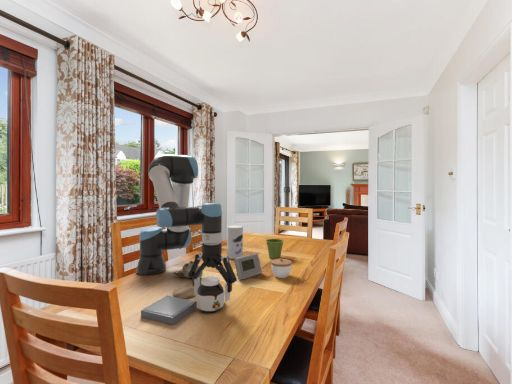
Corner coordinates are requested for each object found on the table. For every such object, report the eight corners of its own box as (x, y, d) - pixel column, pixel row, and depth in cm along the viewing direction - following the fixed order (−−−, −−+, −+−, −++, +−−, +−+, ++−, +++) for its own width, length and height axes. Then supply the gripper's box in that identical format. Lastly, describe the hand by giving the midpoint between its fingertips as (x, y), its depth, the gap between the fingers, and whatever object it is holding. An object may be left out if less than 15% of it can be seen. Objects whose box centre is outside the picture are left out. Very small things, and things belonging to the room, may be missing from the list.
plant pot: (287, 257, 179) (287, 239, 178) (278, 261, 169) (278, 243, 168) (271, 254, 185) (271, 237, 185) (262, 258, 175) (262, 240, 175)
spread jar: (199, 316, 99) (199, 284, 99) (193, 303, 110) (193, 274, 109) (231, 310, 104) (231, 280, 104) (222, 298, 114) (222, 271, 114)
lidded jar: (294, 274, 145) (294, 257, 144) (287, 281, 135) (288, 262, 135) (275, 271, 149) (275, 254, 149) (267, 277, 140) (267, 259, 139)
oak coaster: (167, 296, 116) (167, 294, 116) (182, 288, 125) (182, 286, 125) (187, 300, 112) (187, 298, 112) (201, 291, 122) (201, 289, 122)
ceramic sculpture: (192, 265, 131) (171, 261, 139) (193, 283, 131) (172, 279, 139) (208, 260, 140) (187, 257, 148) (208, 277, 140) (188, 273, 148)
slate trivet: (140, 317, 98) (140, 310, 98) (167, 301, 111) (167, 295, 111) (172, 325, 93) (172, 317, 93) (196, 307, 106) (196, 300, 106)
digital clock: (238, 281, 134) (238, 260, 134) (230, 276, 142) (230, 255, 142) (265, 275, 143) (266, 255, 143) (256, 270, 151) (256, 251, 150)
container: (236, 260, 171) (236, 228, 170) (224, 257, 176) (224, 226, 175) (245, 256, 179) (245, 226, 178) (233, 254, 184) (233, 224, 184)
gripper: (179, 242, 107) (179, 296, 108) (236, 247, 98) (236, 306, 98) (190, 238, 114) (190, 289, 115) (245, 243, 105) (245, 298, 105)
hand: (211, 297), depth 107 cm, fingers open, 13 cm apart
